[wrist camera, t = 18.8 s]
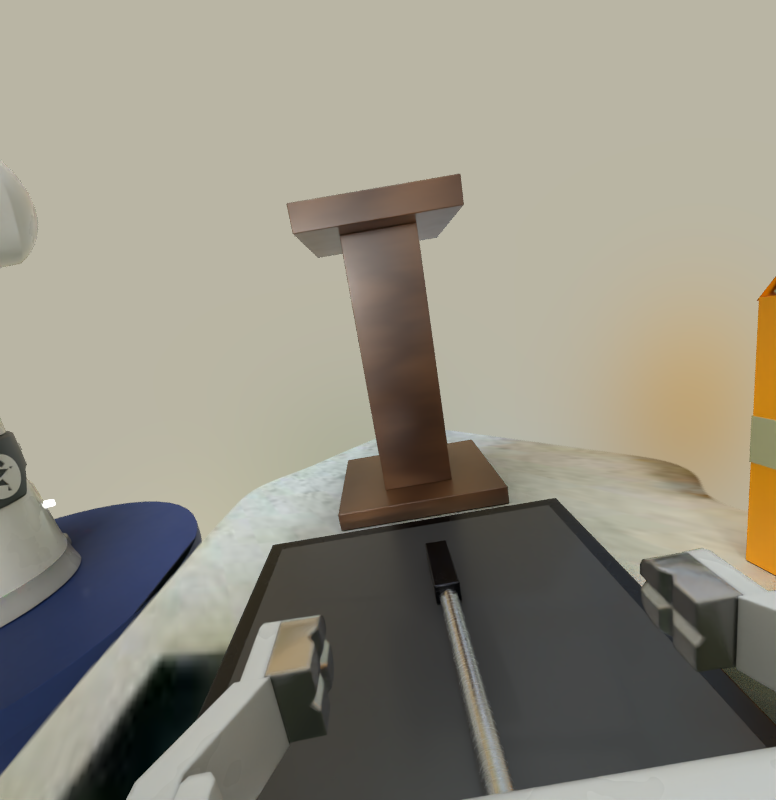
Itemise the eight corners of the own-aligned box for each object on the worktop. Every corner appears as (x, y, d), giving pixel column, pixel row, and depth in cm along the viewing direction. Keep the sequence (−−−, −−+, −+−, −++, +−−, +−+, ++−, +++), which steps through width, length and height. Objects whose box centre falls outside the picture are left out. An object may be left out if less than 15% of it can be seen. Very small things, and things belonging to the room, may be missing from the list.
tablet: (90, 1008, 10) (76, 982, 10) (275, 556, 30) (272, 543, 30) (897, 878, 10) (902, 849, 10) (556, 509, 30) (555, 496, 30)
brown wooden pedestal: (341, 531, 32) (271, 205, 26) (350, 472, 44) (303, 238, 38) (509, 503, 32) (475, 170, 26) (473, 451, 44) (444, 214, 38)
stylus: (516, 975, 9) (511, 942, 9) (427, 559, 25) (424, 542, 25) (573, 965, 9) (570, 932, 9) (448, 555, 25) (446, 539, 25)
